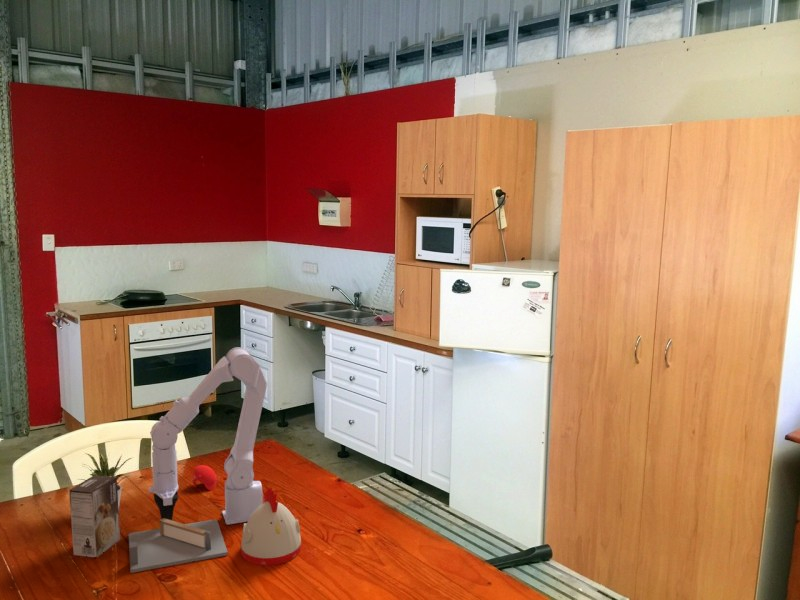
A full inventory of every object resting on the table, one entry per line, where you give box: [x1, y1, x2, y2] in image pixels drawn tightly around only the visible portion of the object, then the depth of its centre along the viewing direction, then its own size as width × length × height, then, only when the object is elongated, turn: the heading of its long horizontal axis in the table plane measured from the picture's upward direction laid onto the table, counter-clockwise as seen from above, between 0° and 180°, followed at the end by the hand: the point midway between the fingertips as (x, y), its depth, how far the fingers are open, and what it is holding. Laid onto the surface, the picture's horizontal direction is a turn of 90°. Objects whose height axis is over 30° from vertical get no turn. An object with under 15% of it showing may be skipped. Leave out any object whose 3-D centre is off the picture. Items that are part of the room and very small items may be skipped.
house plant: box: [77, 452, 134, 510], centre depth 178 cm, size 14×14×16 cm
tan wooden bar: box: [158, 518, 206, 547], centre depth 162 cm, size 14×1×4 cm, turn 63°
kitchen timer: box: [240, 487, 302, 566], centre depth 160 cm, size 14×14×15 cm
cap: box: [192, 464, 218, 491], centre depth 196 cm, size 8×6×6 cm
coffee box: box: [68, 475, 121, 558], centre depth 160 cm, size 9×6×16 cm
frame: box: [128, 518, 229, 574], centre depth 162 cm, size 21×18×5 cm
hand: (166, 521), depth 171 cm, fingers closed
